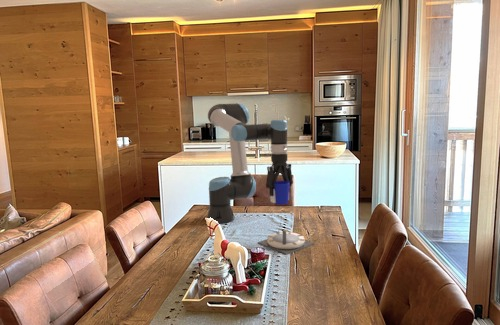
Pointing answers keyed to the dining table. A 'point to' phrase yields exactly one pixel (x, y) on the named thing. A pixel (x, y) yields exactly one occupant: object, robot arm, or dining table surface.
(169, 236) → the dining table surface
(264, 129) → the robot arm
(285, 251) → the bearing plate
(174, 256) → the dining table surface
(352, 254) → the dining table surface
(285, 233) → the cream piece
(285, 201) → the mug
